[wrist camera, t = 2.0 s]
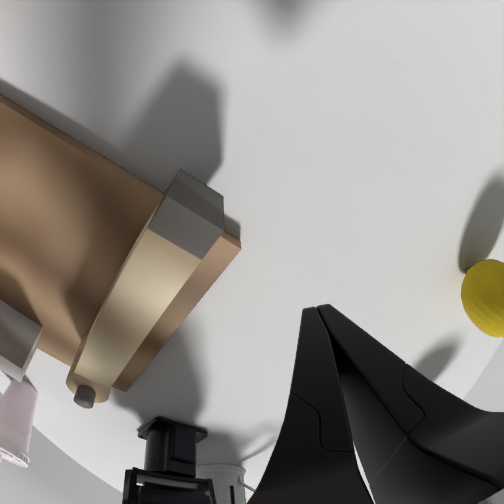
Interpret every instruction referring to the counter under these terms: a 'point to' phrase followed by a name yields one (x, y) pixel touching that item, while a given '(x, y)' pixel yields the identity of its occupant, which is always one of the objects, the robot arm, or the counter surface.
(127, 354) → the leg
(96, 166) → the seat
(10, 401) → the smoothie
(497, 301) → the lemon
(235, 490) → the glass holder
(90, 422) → the counter surface
